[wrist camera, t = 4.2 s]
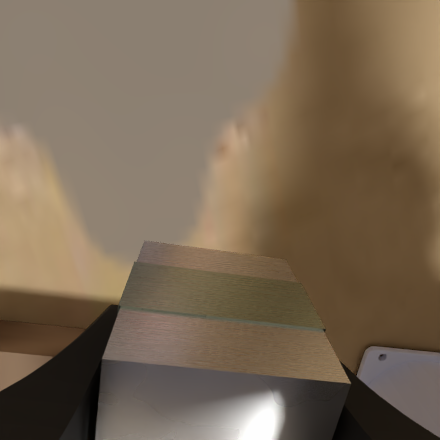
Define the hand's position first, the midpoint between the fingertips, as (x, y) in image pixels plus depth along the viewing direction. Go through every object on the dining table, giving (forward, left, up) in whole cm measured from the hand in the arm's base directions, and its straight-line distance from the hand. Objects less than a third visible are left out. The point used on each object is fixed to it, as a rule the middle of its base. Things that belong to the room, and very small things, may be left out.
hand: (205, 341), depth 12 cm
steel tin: (0, 0, -2) cm, 2 cm away
